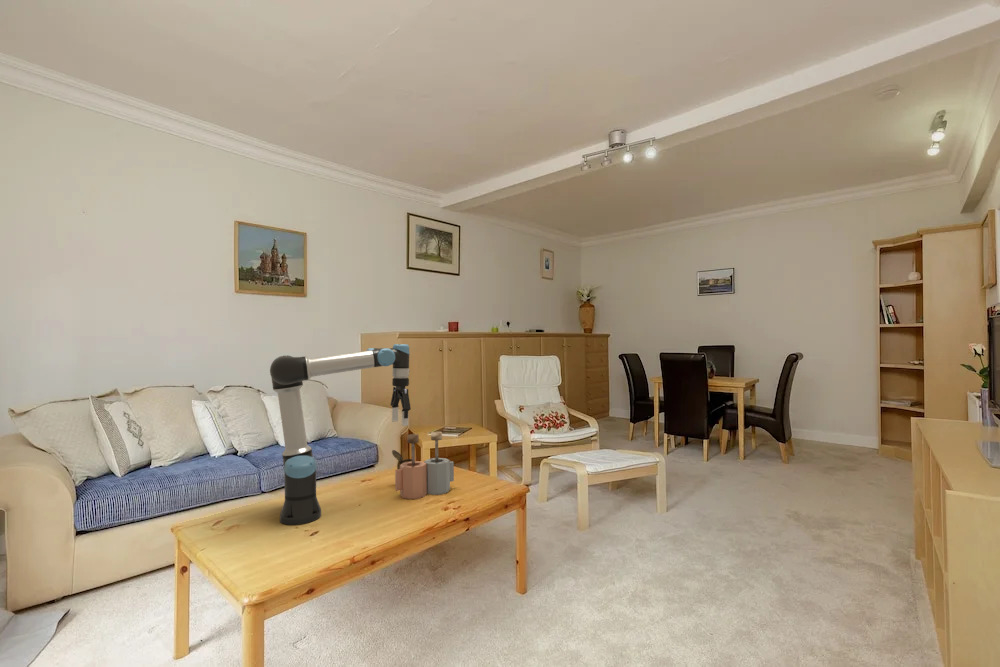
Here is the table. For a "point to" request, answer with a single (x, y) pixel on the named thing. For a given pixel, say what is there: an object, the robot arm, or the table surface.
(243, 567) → the table surface
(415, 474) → the pink octagonal mug
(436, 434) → the grey plunger
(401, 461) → the wooden mug
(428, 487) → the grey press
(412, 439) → the taupe plunger
